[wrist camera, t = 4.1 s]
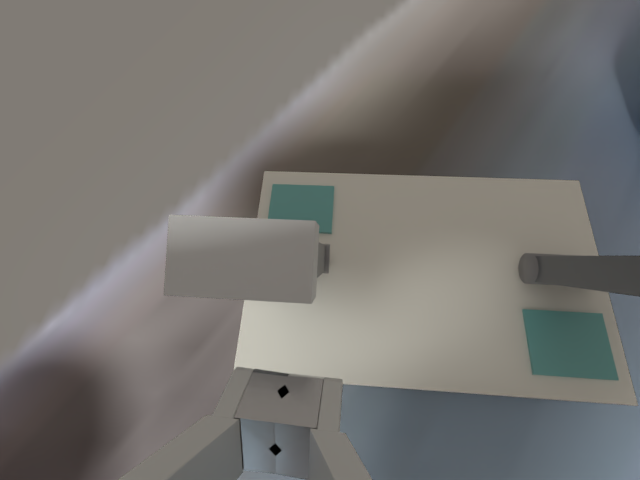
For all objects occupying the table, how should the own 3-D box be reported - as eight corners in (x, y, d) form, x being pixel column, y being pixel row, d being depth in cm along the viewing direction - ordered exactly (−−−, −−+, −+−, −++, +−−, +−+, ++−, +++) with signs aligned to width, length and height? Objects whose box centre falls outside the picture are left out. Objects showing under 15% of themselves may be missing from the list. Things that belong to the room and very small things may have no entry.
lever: (328, 277, 22) (311, 303, 10) (260, 274, 22) (163, 295, 10) (330, 240, 22) (315, 221, 10) (263, 236, 22) (169, 214, 10)
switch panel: (598, 402, 21) (641, 406, 18) (245, 376, 22) (231, 375, 19) (553, 201, 26) (581, 178, 23) (271, 192, 28) (263, 169, 25)
